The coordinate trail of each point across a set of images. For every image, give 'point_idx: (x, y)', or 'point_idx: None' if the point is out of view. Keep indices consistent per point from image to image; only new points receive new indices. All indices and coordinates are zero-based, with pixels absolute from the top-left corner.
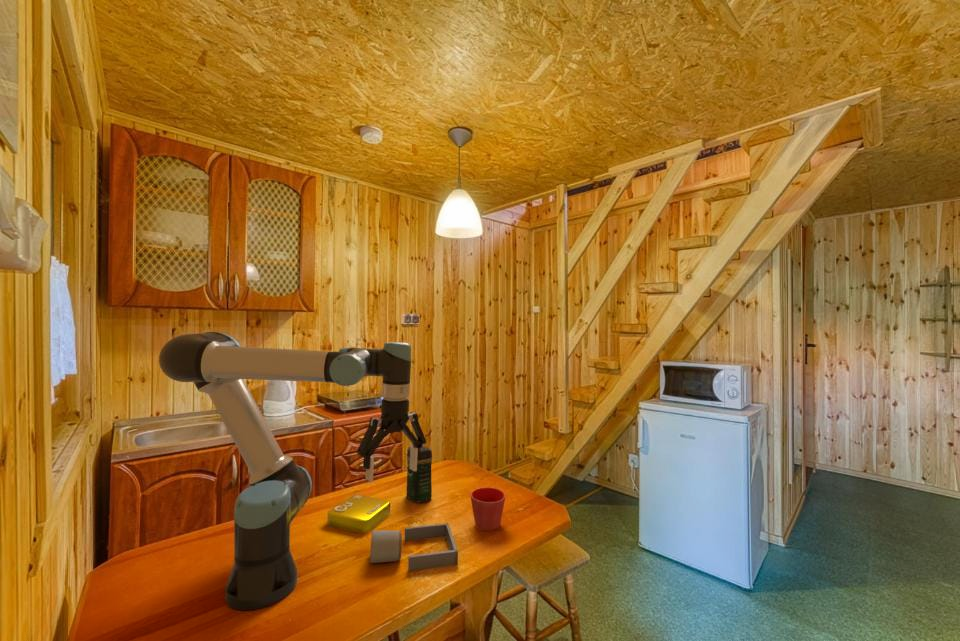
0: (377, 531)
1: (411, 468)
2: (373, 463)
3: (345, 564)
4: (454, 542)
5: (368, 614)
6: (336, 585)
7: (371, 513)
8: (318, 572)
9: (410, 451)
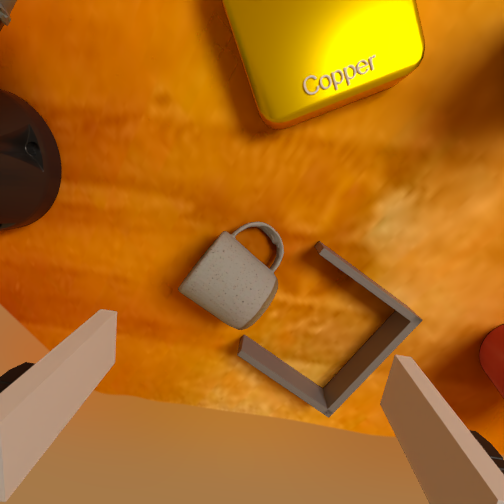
0: (206, 277)
1: (391, 379)
2: (44, 450)
3: (160, 218)
4: (352, 391)
5: (120, 371)
6: (113, 267)
7: (313, 95)
8: (103, 199)
9: (460, 451)
